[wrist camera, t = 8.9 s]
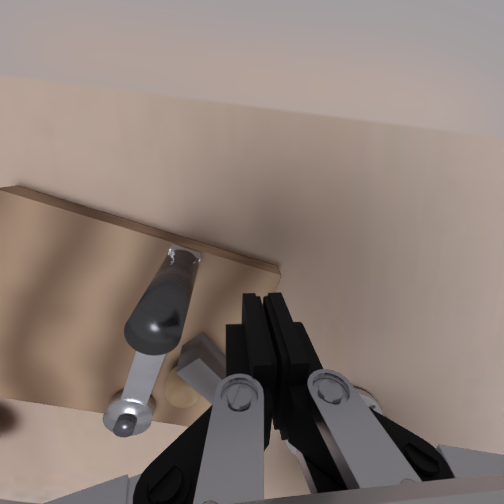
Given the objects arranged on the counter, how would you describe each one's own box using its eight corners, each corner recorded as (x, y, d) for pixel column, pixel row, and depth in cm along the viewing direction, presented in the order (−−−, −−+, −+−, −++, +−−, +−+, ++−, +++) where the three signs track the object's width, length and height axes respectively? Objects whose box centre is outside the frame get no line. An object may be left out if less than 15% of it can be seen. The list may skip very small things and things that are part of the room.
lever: (148, 425, 26) (111, 553, 18) (104, 417, 25) (43, 549, 17) (215, 254, 20) (207, 324, 12) (161, 235, 20) (110, 297, 11)
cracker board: (277, 266, 24) (291, 296, 19) (213, 413, 30) (211, 467, 25) (17, 185, 19) (-60, 195, 14) (3, 377, 25) (-55, 434, 20)
